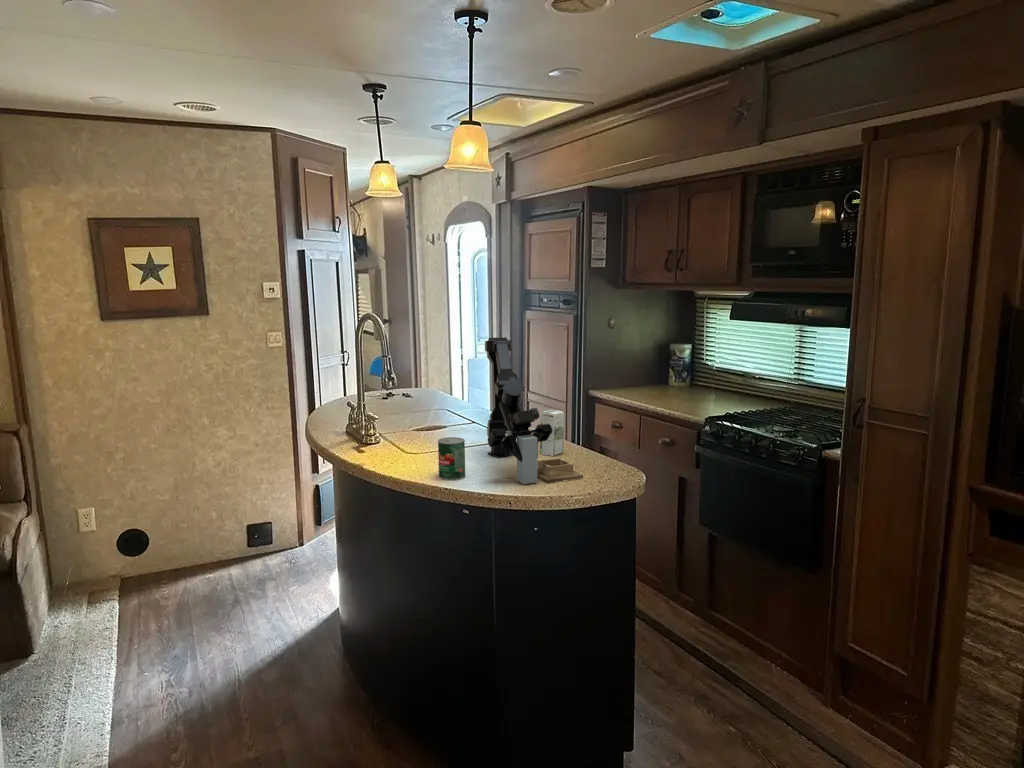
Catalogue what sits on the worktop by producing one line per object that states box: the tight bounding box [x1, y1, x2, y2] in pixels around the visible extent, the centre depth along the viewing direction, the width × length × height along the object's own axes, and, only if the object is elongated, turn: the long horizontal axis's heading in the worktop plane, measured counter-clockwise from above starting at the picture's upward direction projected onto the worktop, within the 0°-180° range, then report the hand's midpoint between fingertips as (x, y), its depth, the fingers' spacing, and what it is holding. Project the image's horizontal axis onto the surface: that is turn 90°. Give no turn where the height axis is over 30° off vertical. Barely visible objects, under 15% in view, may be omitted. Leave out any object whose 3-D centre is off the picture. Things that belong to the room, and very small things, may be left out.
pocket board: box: [537, 457, 584, 484], centre depth 203 cm, size 12×12×4 cm
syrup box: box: [539, 409, 565, 457], centre depth 228 cm, size 6×6×14 cm
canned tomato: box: [437, 436, 466, 481], centre depth 202 cm, size 8×8×11 cm
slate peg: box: [516, 435, 538, 485], centre depth 195 cm, size 4×4×13 cm
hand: (529, 459), depth 194 cm, fingers closed on slate peg, 4 cm apart
